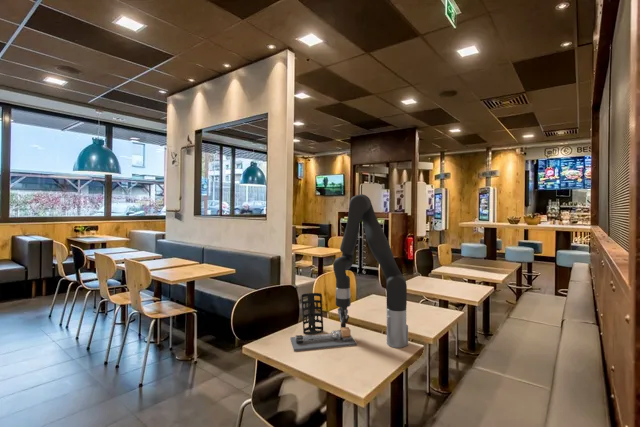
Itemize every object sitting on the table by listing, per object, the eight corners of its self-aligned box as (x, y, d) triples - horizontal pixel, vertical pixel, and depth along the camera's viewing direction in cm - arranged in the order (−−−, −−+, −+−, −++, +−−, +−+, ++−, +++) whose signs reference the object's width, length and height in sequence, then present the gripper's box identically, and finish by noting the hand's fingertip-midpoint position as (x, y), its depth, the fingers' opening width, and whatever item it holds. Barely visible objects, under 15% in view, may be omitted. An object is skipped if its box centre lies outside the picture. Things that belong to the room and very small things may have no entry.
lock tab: (348, 332, 170) (348, 326, 170) (350, 335, 167) (350, 329, 166) (340, 333, 170) (340, 327, 170) (342, 336, 166) (342, 330, 166)
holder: (305, 335, 173) (304, 296, 174) (300, 331, 180) (299, 293, 181) (325, 332, 177) (323, 293, 179) (319, 329, 184) (318, 291, 186)
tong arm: (332, 335, 168) (333, 333, 168) (334, 337, 165) (334, 335, 165) (294, 337, 164) (294, 335, 164) (295, 340, 161) (295, 337, 161)
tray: (348, 333, 176) (348, 332, 176) (356, 345, 162) (356, 343, 162) (290, 339, 170) (290, 337, 170) (294, 351, 156) (294, 349, 156)
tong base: (346, 332, 175) (346, 325, 175) (352, 340, 165) (352, 333, 165) (294, 336, 170) (294, 330, 170) (297, 346, 159) (297, 338, 159)
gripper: (354, 299, 166) (354, 334, 166) (346, 292, 178) (346, 324, 179) (339, 300, 164) (339, 335, 165) (332, 293, 177) (332, 325, 178)
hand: (343, 329), depth 172 cm, fingers closed
